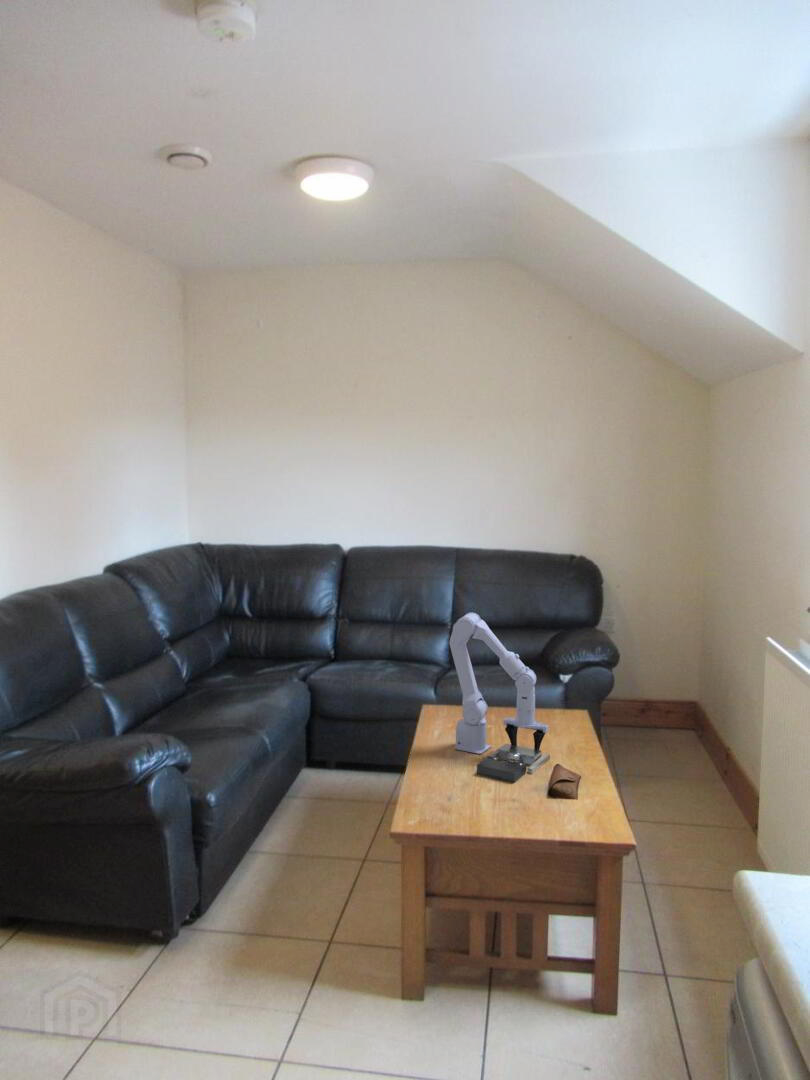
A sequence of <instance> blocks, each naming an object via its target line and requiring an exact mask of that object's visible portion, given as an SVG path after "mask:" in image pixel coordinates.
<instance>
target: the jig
mask: <svg viewBox="0 0 810 1080" xmlns="http://www.w3.org/2000/svg"><path fill="white" fill-rule="evenodd" d="M504 745H505V744H502V745H501V746H499V747H498V748H497V749H496V750H493V752H491V753H490V754H488V755H487V756H486V757H485V758H487V757H488V756H493V757H497V758H498V749H500V748H501V747H502V746H504ZM485 758H484V759H485ZM484 759H483V760H484ZM550 759H551V754H550V753H544V754H542V757H540V758H539V759H538V760H537V761H536V762H535V763H533V764H532V765H531V766H530V765H529V766H528V767H527V773H528V774H531V775H533V774H534V773H535V772H537V771H538V770H539V769H540V768H541V767H542V766H544V765H545V764H546V763H547V762H548V761H549V760H550Z"/></svg>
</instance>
